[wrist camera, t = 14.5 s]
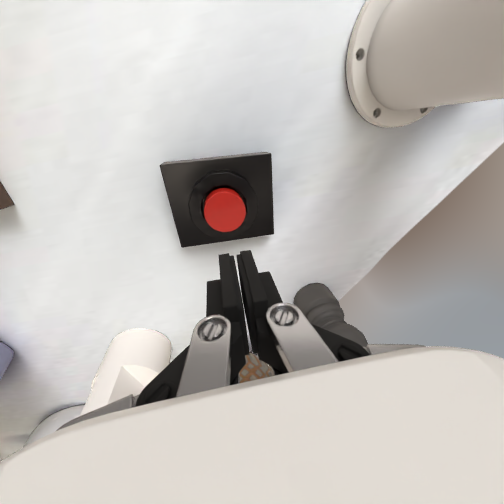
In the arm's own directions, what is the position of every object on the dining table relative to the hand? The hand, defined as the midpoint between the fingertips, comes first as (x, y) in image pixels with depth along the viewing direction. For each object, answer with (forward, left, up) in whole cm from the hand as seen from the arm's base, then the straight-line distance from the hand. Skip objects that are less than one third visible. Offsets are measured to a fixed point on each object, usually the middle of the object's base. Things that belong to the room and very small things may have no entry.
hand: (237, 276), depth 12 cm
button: (0, 0, -13) cm, 13 cm away
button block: (0, 0, -16) cm, 16 cm away
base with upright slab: (+16, +22, -16) cm, 32 cm away
